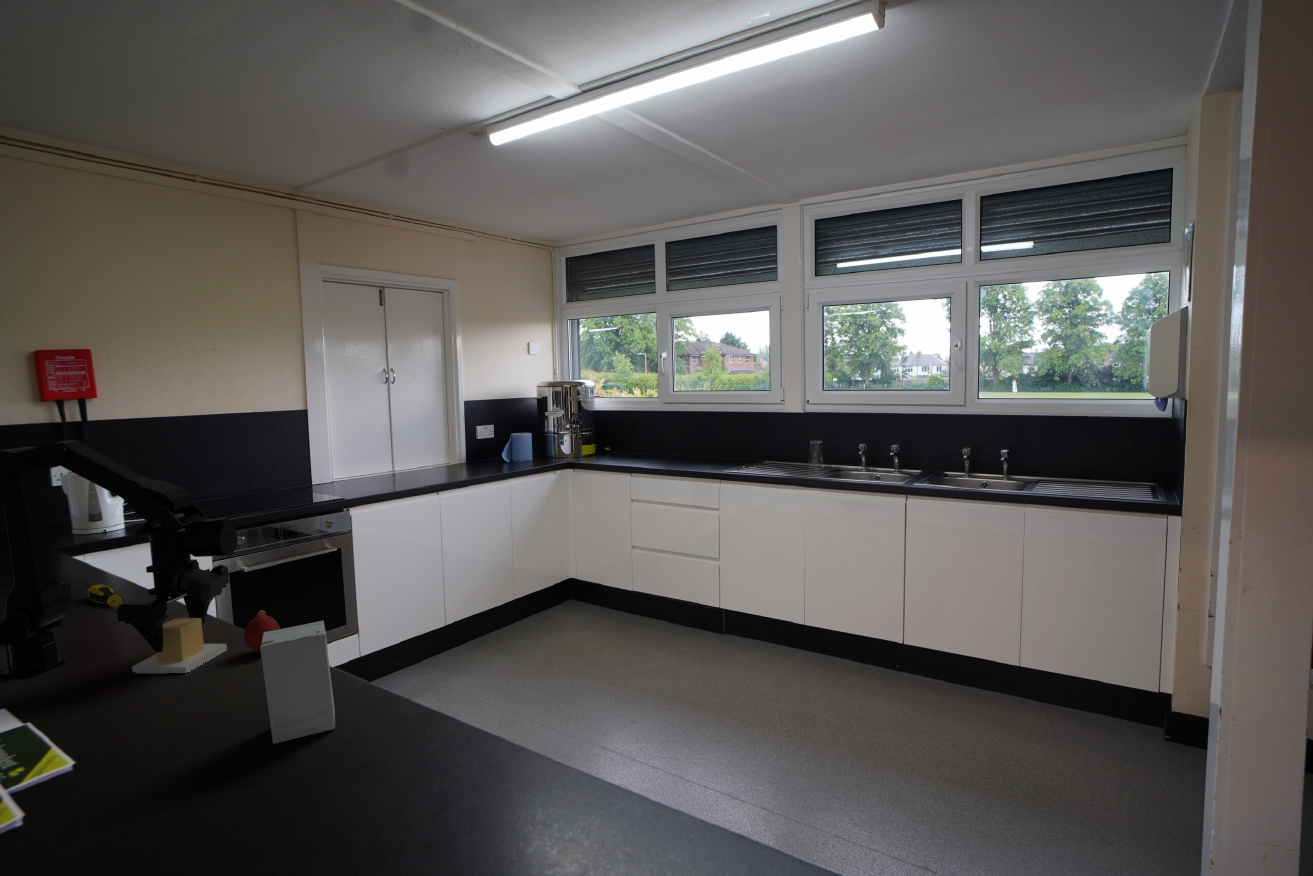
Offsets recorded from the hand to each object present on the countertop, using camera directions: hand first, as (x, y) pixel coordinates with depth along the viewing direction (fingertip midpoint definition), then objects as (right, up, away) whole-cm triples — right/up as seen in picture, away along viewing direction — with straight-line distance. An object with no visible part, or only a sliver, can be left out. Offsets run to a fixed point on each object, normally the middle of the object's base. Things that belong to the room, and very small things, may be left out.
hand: (179, 641), depth 123 cm
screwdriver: (-35, -2, +30) cm, 46 cm away
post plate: (0, -4, 0) cm, 4 cm away
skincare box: (+35, -6, -24) cm, 43 cm away
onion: (+13, -3, +3) cm, 14 cm away
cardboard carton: (0, -3, 0) cm, 3 cm away
